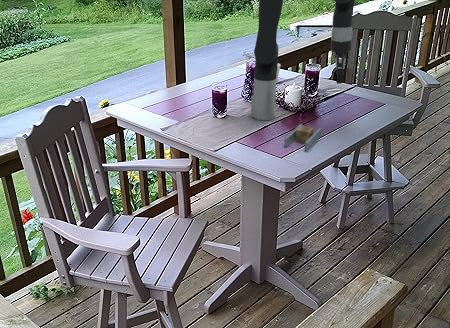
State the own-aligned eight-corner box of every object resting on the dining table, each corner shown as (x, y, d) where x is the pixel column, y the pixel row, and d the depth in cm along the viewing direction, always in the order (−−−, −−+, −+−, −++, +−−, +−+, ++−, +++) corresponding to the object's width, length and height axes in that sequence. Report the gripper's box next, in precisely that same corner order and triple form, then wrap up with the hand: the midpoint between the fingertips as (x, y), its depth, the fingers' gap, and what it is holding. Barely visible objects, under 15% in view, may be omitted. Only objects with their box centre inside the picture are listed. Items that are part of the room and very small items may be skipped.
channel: (284, 146, 193) (284, 138, 192) (299, 132, 206) (300, 123, 204) (307, 151, 190) (307, 143, 188) (321, 136, 202) (322, 128, 201)
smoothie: (278, 85, 259) (280, 57, 252) (266, 84, 260) (267, 57, 254) (280, 81, 264) (281, 54, 258) (267, 80, 266) (269, 53, 259)
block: (295, 141, 198) (296, 129, 195) (300, 137, 202) (301, 125, 199) (308, 144, 196) (309, 132, 193) (312, 139, 199) (313, 127, 197)
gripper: (332, 34, 202) (330, 75, 209) (330, 42, 189) (329, 85, 196) (351, 34, 200) (349, 75, 207) (351, 42, 188) (349, 85, 195)
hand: (339, 80), depth 202 cm, fingers open, 8 cm apart
